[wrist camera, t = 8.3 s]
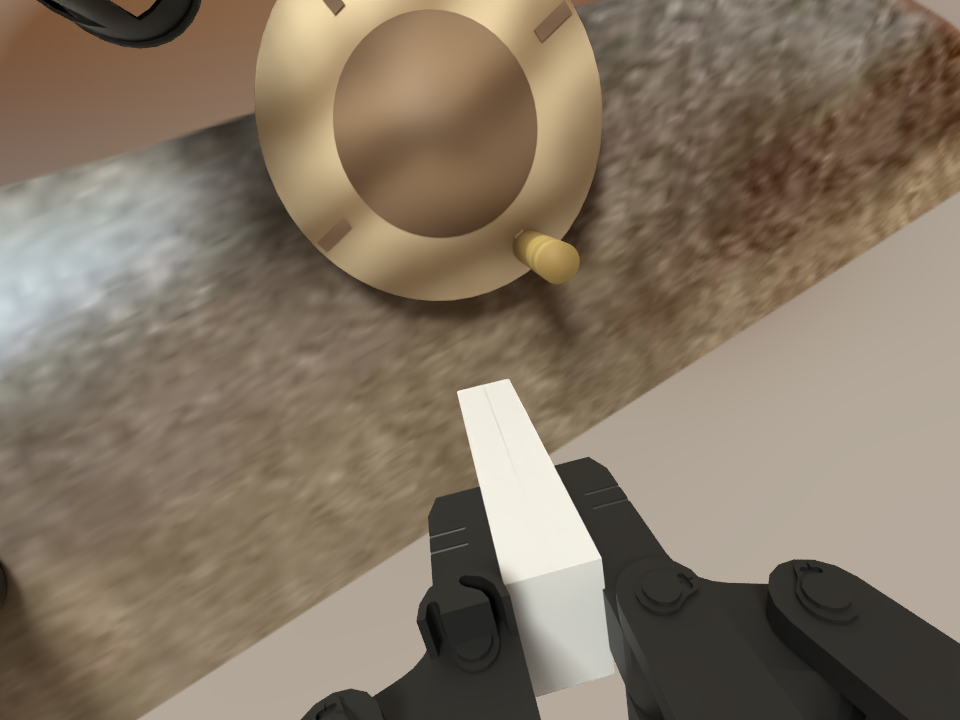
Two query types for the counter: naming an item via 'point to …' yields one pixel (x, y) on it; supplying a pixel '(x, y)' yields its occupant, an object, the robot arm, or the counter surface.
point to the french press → (128, 20)
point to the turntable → (431, 137)
